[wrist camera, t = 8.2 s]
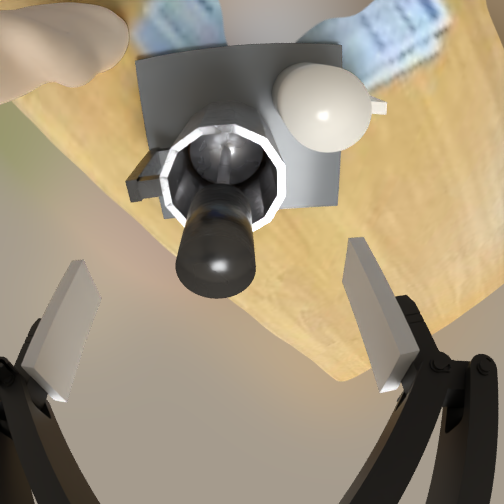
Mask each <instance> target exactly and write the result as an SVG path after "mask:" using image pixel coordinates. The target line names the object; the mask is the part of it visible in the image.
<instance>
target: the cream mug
mask: <svg viewBox="0 0 504 504" xmlns="http://www.w3.org/2000/svg"><path fill="white" fill-rule="evenodd" d="M272 100H273V104H274V107H275V109H276V111H277V112H278V114H279V115H280V117H281V119H282V120H283V122H284V123H285V125H286V126H287V128H288V129H289V131H290V132H291V134H292V135H293V136H294V138H295V139H296V140H297V141H298V142H300V143H301V144H302V145H304V146H305V147H307V148H309V149H312V150H315V151H318V152H327V153H329V152H337V151H341V150H344V149H346V148H348V147H350V146H352V145H353V144H355V143H356V142H357V141H358V140H359V139H360V138H361V137H362V136H363V135H364V133H365V132H366V130H367V128H368V126H369V123H370V120H371V114H385V115H386V112H387V102H385V101H382V100H380V99H377V98H375V97H373V96H369V93H368V91H367V89H366V87H365V86H364V84H363V83H362V82H361V81H360V80H359V79H358V78H357V77H356V76H355V75H354V74H352V73H351V72H349V71H347V70H345V69H342V68H339V67H335V66H329V65H323V64H316V63H308V62H303V63H297V64H294V65H291V66H289V67H287V68H286V69H284V70H283V71H282V72H281V73H280V74H279V75H278V77H277V78H276V80H275V82H274V85H273V89H272Z"/></svg>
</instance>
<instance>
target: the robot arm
mask: <svg viewBox="0 0 504 504" xmlns="http://www.w3.org/2000/svg"><path fill="white" fill-rule="evenodd" d="M342 282H343V285H344V288H345V291H346V293H347V296H348V299H349V301H350V304H351V307H352V310H353V313H354V315H355V318H356V321H357V324H358V327H359V330H360V333H361V336H362V339H363V342H364V345H365V348H366V351H367V354H368V357H369V360H370V363H371V366H372V369H373V372H374V376H375V379H376V382H377V385H378V389H379V392H380V393H382V392H387V391H391V390H395V389H397V388H398V386H399V385H400V383H402V386H403V388H404V391H403V392H402V394H401V395H400V397H399V398H398V400H397V402H398V403H397V405H396V407H395V409H394V411H393V413H392V415H391V417H390V419H389V421H388V423H387V425H386V427H385V429H384V431H383V433H382V434H381V436H380V438H379V440H378V442H377V443H376V446H375V447H374V449H373V451H372V452H371V454H370V456H369V458H368V459H367V461H366V463H365V464H364V466H363V467H362V469H361V471H360V472H359V474H358V476H357V477H356V479H355V480H354V482H353V483H352V485H351V486H350V488H349V490H348V491H347V492H346V494H345V495H344V497H343V498H342V500H341V501H340V503H339V504H398V502H399V500H400V499H401V497H402V495H403V493H404V491H405V489H406V487H407V486H408V484H409V482H410V480H411V478H412V476H413V474H414V472H415V470H416V468H417V466H418V464H419V462H420V459H421V457H422V455H423V453H424V451H425V448H426V446H427V443H428V441H429V439H430V436H431V434H432V431H433V429H434V427H435V424H436V421H437V419H438V416H439V413H440V410H441V408H442V407H443V412H442V421H441V428H440V436H439V443H438V449H437V455H436V460H435V465H434V470H433V475H432V480H431V485H430V489H429V493H428V497H427V501H426V504H489V503H490V498H491V493H492V487H493V479H494V472H495V462H496V452H497V438H498V377H497V367H496V364H495V362H494V361H493V359H492V358H490V357H489V356H487V355H485V354H478V355H476V356H474V357H473V359H472V360H471V361H454V360H451V359H450V357H449V356H448V355H446V354H445V353H443V352H440V351H439V350H438V348H437V346H436V344H435V342H434V340H433V338H432V336H431V333H430V331H429V329H428V327H427V325H426V323H425V322H424V319H423V317H422V315H421V314H420V311H419V309H418V308H417V306H416V304H415V302H414V301H413V300H411V299H410V298H409V297H408V296H407V295H403V296H396V297H395V296H394V294H393V292H392V290H391V288H390V286H389V284H388V282H387V280H386V278H385V276H384V274H383V272H382V270H381V268H380V266H379V264H378V263H377V261H376V259H375V257H374V255H373V253H372V251H371V250H370V248H369V246H368V244H367V242H366V241H365V239H364V237H357V238H349V239H348V247H347V254H346V260H345V267H344V273H343V279H342ZM101 299H102V298H101V295H100V293H99V291H98V290H97V287H96V285H95V283H94V281H93V279H92V277H91V275H90V272H89V270H88V268H87V266H86V264H85V261H84V260H73V261H72V262H71V263H70V265H69V267H68V269H67V271H66V272H65V274H64V276H63V278H62V279H61V281H60V283H59V285H58V287H57V289H56V291H55V293H54V295H53V296H52V298H51V300H50V303H49V304H48V306H47V308H46V310H45V312H44V314H43V317H42V319H41V318H39V319H38V320H37V321H36V322H35V323H34V324H33V326H32V327H31V329H30V331H29V333H28V337H26V340H25V344H23V347H22V349H21V351H20V353H19V356H18V358H17V360H16V363H15V365H14V366H13V365H12V364H11V363H10V362H9V361H8V359H7V358H5V357H0V504H35V503H34V499H33V495H32V492H33V494H34V496H35V499H36V501H37V503H38V504H100V503H99V501H98V500H97V498H96V496H95V495H94V493H93V491H92V490H91V488H90V486H89V485H88V483H87V481H86V479H85V478H84V476H83V474H82V472H81V470H80V469H79V467H78V465H77V463H76V461H75V459H74V457H73V455H72V453H71V451H70V449H69V447H68V445H67V443H66V441H65V439H64V437H63V434H62V432H61V430H60V428H59V425H58V423H57V421H56V418H55V416H54V413H53V411H52V409H51V406H50V404H49V402H48V401H47V400H46V398H47V394H49V395H50V396H51V397H52V398H53V399H54V400H56V401H62V402H67V401H68V398H69V394H70V390H71V387H72V384H73V380H74V377H75V373H76V370H77V367H78V364H79V361H80V357H81V354H82V351H83V349H84V346H85V343H86V340H87V337H88V334H89V331H90V328H91V325H92V323H93V320H94V317H95V315H96V312H97V309H98V307H99V304H100V301H101ZM31 490H32V491H31Z"/></svg>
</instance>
